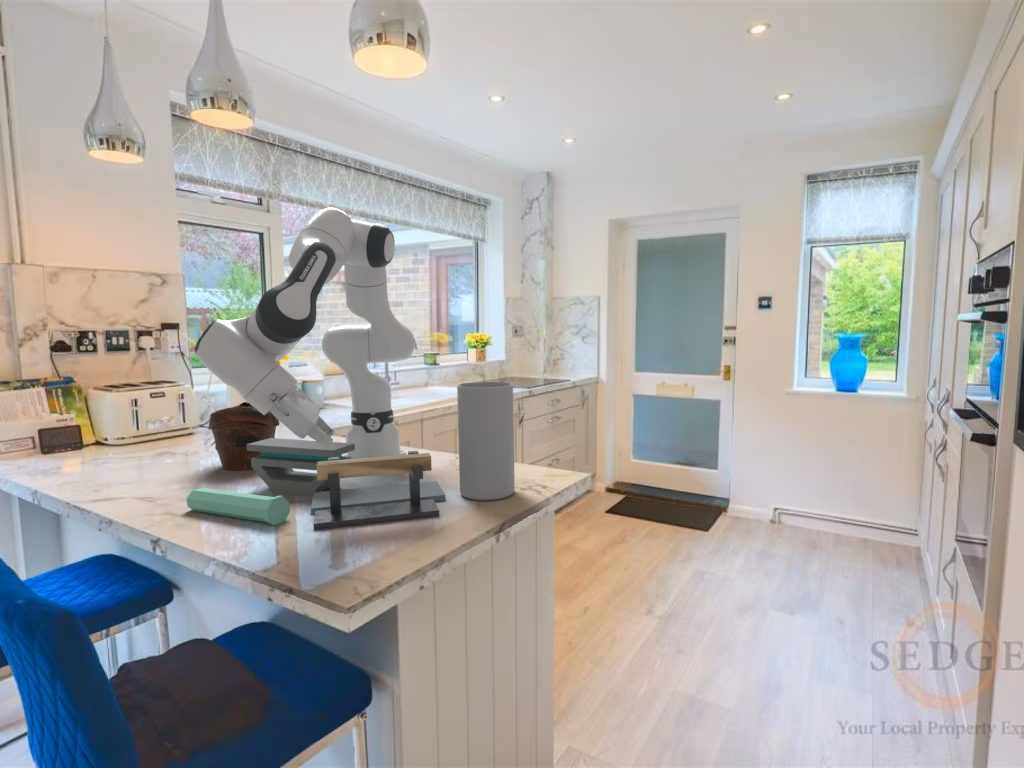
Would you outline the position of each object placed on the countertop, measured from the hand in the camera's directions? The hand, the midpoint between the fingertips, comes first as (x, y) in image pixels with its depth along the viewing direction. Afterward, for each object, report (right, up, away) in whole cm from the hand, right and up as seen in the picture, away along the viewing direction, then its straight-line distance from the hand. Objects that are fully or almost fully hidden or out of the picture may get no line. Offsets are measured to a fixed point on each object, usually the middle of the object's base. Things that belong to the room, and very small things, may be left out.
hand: (331, 439), depth 110 cm
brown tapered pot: (-40, -12, +50) cm, 66 cm away
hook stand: (+8, -16, +4) cm, 18 cm away
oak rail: (+8, -7, +3) cm, 11 cm away
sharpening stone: (-15, -14, +26) cm, 33 cm away
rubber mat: (+5, -15, +16) cm, 23 cm away
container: (-22, -17, +7) cm, 28 cm away
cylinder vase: (+30, -14, +19) cm, 38 cm away
